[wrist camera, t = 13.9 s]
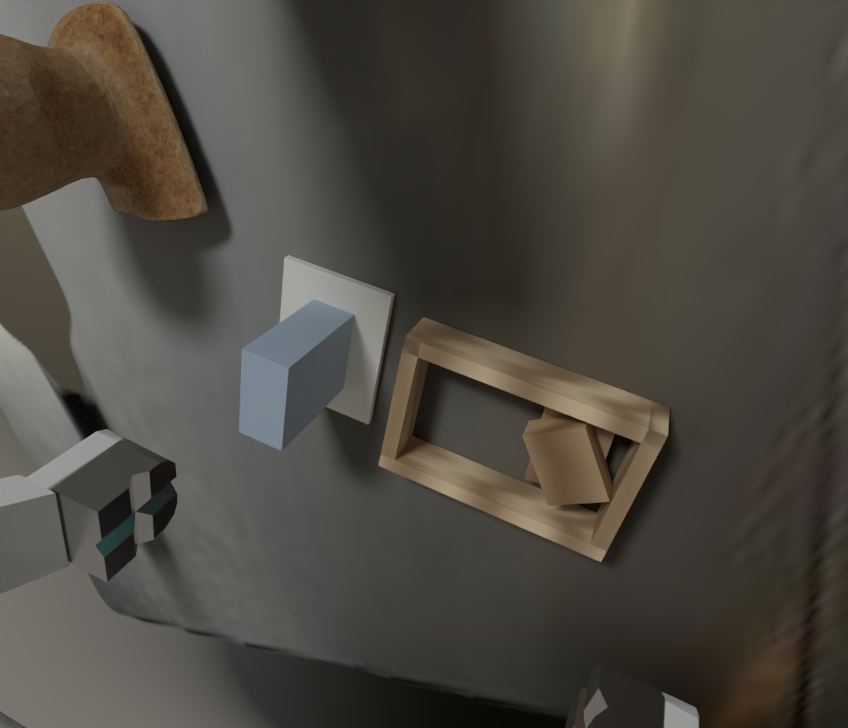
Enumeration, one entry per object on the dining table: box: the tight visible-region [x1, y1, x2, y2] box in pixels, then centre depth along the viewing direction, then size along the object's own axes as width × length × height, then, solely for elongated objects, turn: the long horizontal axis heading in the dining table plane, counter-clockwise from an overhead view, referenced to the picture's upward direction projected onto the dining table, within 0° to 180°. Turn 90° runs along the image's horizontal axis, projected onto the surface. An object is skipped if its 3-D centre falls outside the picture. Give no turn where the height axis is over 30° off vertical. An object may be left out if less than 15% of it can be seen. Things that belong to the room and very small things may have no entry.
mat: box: [280, 255, 395, 424], centre depth 48 cm, size 9×12×1 cm
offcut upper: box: [522, 415, 613, 506], centre depth 43 cm, size 4×6×2 cm
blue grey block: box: [239, 299, 354, 451], centre depth 44 cm, size 4×7×9 cm, turn 168°
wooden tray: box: [379, 317, 670, 562], centre depth 44 cm, size 18×12×4 cm, turn 78°
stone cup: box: [0, 2, 208, 221], centre depth 40 cm, size 15×12×15 cm
